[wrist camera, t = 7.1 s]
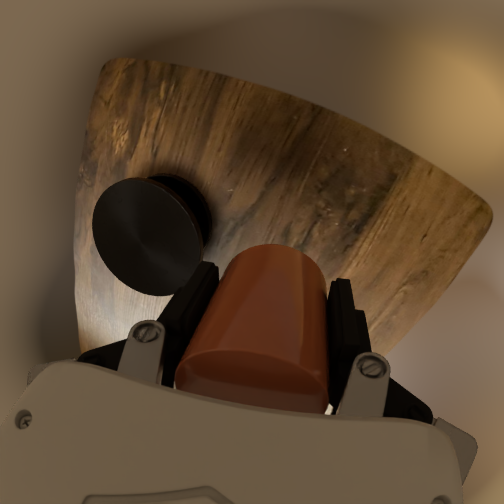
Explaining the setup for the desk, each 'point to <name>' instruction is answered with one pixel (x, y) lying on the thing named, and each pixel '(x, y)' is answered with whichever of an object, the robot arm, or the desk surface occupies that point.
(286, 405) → the orange cylinder
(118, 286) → the desk surface
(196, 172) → the desk surface
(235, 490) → the robot arm
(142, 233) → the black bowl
